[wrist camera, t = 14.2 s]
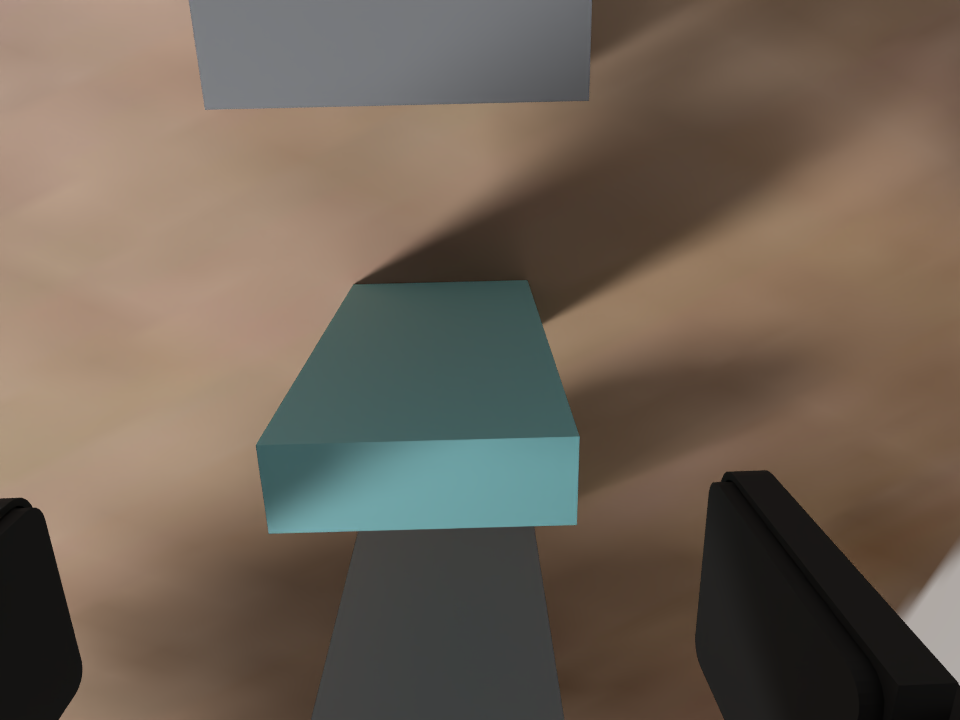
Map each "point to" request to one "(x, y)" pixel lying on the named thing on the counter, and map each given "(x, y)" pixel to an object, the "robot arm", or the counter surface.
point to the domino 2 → (424, 417)
